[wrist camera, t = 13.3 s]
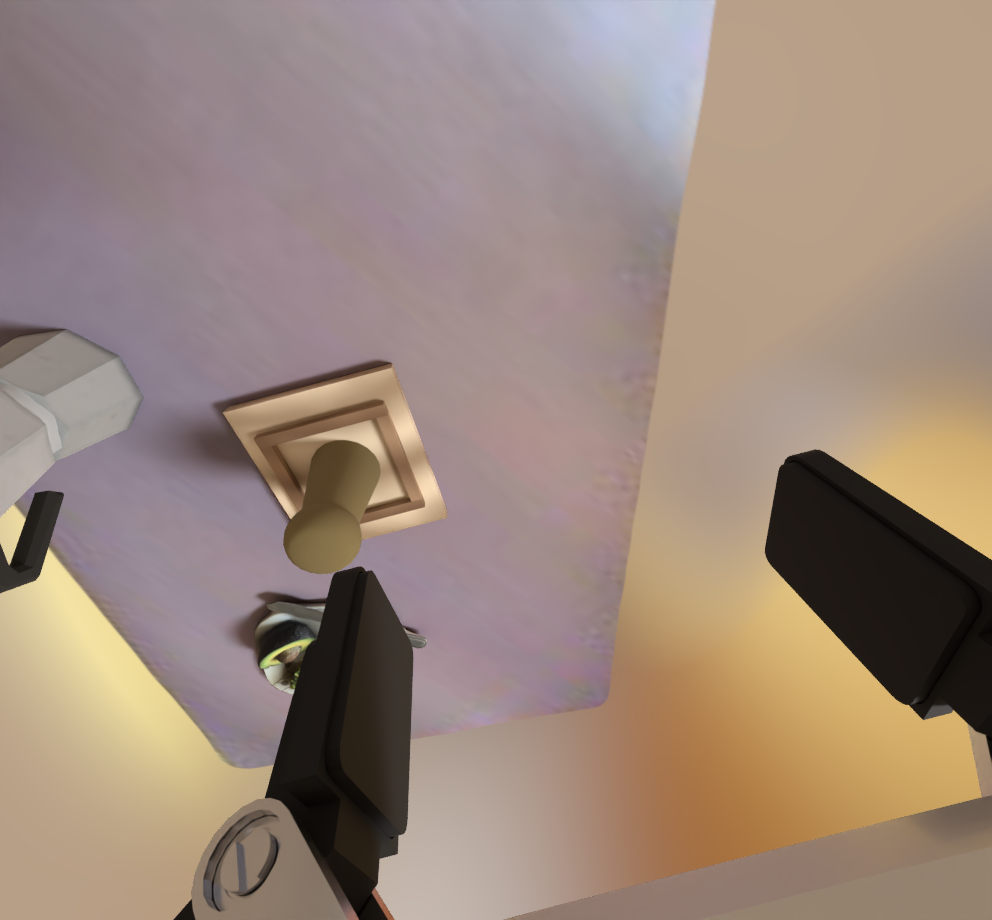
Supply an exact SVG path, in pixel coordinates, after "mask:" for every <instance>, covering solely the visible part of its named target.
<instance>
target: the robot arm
mask: <svg viewBox="0 0 992 920" xmlns="http://www.w3.org/2000/svg"><path fill="white" fill-rule="evenodd" d="M765 554H766V557H767V560H768V562H769V563H770V564H771V565H772V567H773V568H774V569H775V570H776V571H777V572H778V573H779V574H780V576H781V577H782V578H784V580H785V581H786V582H787V583H788V584H789V585H790V586H791V587H792V588H793V589H794V590H795V592H796V593H798V595H799V596H800V597H801V598H802V599H803V600H804V601H805V602H806V604H807V605H809V607H810V608H811V609H812V610H813V611H814V612H815V613H816V614H817V615H818V616H819V618H821V620H822V621H823V622H824V623H825V624H826V625H827V626H828V627H829V628H830V629H831V630H832V632H834V634H835V635H836V636H837V637H838V638H839V639H840V640H841V641H842V642H843V643H844V644H845V646H847V648H848V649H849V650H850V651H851V652H852V653H853V654H854V655H855V656H856V657H857V658H858V660H859V661H860V662H861V663H862V664H863V665H864V666H865V667H866V668H867V669H868V670H869V671H870V672H871V673H872V675H873V676H874V677H875V678H876V679H877V680H878V681H879V682H880V683H881V684H882V685H883V686H884V687H885V689H886V690H887V691H888V692H889V693H890V694H891V695H892V696H893V697H894V698H895V699H896V700H898V701H899V702H901V703H903V704H905V705H909V706H910V707H911V708H912V709H913V710H914V711H915V712H916V713H917V714H918V715H919V716H920V717H921V718H922V719H923V720H925V719H929V718H933V717H936V716H941V715H945V714H949V713H951V712H952V711H953V710H954V711H955V712H956V713H958V714H959V716H960V717H962V718H963V719H964V720H965V721H966V722H967V723H968V728H969V733H970V738H971V743H972V748H973V754H974V759H975V763H976V769H977V774H978V779H979V785H980V789H981V795H982V798H978V799H974V800H970V801H966V802H962V803H958V804H954V805H950V806H946V807H942V808H938V809H934V810H930V811H926V812H922V813H918V814H914V815H910V816H906V817H902V818H898V819H894V820H890V821H886V822H882V823H878V824H874V825H870V826H866V827H862V828H858V829H854V830H850V831H846V832H842V833H838V834H834V835H830V836H826V837H823V838H818V839H815V840H810V841H806V842H802V843H798V844H794V845H791V846H787V847H783V848H779V849H775V850H771V851H767V852H763V853H760V854H755V855H751V856H747V857H744V858H740V859H736V860H732V861H728V862H724V863H720V864H716V865H712V866H708V867H704V868H700V869H696V870H692V871H689V872H685V873H681V874H677V875H673V876H669V877H665V878H661V879H658V880H654V881H650V882H646V883H642V884H638V885H634V886H631V887H627V888H623V889H619V890H615V891H611V892H608V893H604V894H600V895H596V896H592V897H588V898H584V899H580V900H577V901H573V902H569V903H565V904H562V905H558V906H554V907H550V908H546V909H542V910H538V911H534V912H530V913H527V914H523V915H519V916H515V917H512V918H508V919H505V920H992V560H991V559H989V558H988V557H986V556H985V555H983V554H981V553H980V552H978V551H977V550H975V549H974V548H972V547H971V546H969V545H967V544H966V543H964V542H963V541H961V540H960V539H958V538H957V537H955V536H954V535H952V534H950V533H949V532H947V531H946V530H944V529H943V528H941V527H940V526H938V525H936V524H935V523H933V522H932V521H930V520H929V519H927V518H925V517H924V516H923V515H921V514H919V513H918V512H916V511H915V510H913V509H912V508H910V507H909V506H907V505H906V504H904V503H902V502H901V501H899V500H898V499H896V498H895V497H893V496H892V495H890V494H888V493H887V492H885V491H884V490H882V489H881V488H879V487H878V486H876V485H874V484H873V483H871V482H870V481H868V480H867V479H865V478H863V477H862V476H861V475H859V474H857V473H856V472H854V471H853V470H851V469H850V468H848V467H846V466H845V465H843V464H842V463H840V462H839V461H837V460H836V459H834V458H833V457H831V456H829V455H828V454H826V453H825V452H823V451H821V450H812V451H808V452H804V453H800V454H796V455H792V456H789V457H787V459H786V460H785V462H784V465H781V467H780V468H779V471H778V477H777V483H776V489H775V495H774V500H773V506H772V511H771V517H770V523H769V529H768V535H767V540H766V546H765ZM412 677H413V649H412V645H411V642H410V639H409V637H408V636H407V634H406V632H405V630H404V628H403V626H402V624H401V622H400V621H399V619H398V617H397V615H396V613H395V611H394V609H393V608H392V606H391V604H390V602H389V600H388V598H387V596H386V595H385V593H384V591H383V589H382V587H381V585H380V583H379V581H378V580H377V578H376V576H375V574H374V573H373V571H365V569H364V568H363V567H356V568H352V569H348V570H344V571H340V572H336V573H335V574H334V575H333V578H332V581H331V585H330V589H329V593H328V597H327V601H326V604H325V608H324V612H323V616H322V620H321V624H320V628H319V632H318V636H317V640H314V641H312V642H311V643H310V644H309V645H308V646H307V649H306V651H305V654H304V657H303V661H302V665H301V668H300V672H299V675H298V679H297V683H296V686H295V690H294V694H293V697H292V701H291V705H290V708H289V712H288V716H287V719H286V723H285V727H284V730H283V734H282V738H281V741H280V745H279V748H278V752H277V756H276V759H275V763H274V767H273V770H272V774H271V778H270V782H269V785H268V789H267V792H266V796H265V799H259V800H255V801H253V802H252V803H249V804H248V805H245V806H243V807H242V808H241V809H239V810H238V811H237V812H236V813H235V814H233V815H232V816H231V817H230V818H228V820H227V821H226V822H225V823H224V824H223V825H222V827H221V828H220V829H219V830H218V831H217V832H216V833H215V835H214V836H213V838H212V840H211V841H210V843H209V844H208V846H207V848H206V849H205V851H204V853H203V855H202V857H201V860H200V862H199V865H198V867H197V870H196V872H195V876H194V881H193V887H192V893H191V894H192V899H191V900H190V902H189V903H188V904H187V905H186V906H185V907H184V908H183V909H182V911H181V912H180V913H179V914H178V915H177V916H176V918H175V919H174V920H394V918H393V916H392V915H391V913H390V911H389V910H388V908H387V907H386V905H385V903H384V902H383V900H382V899H381V897H380V895H379V894H378V892H377V890H376V889H375V887H376V885H377V883H378V871H379V859H380V858H384V857H388V856H392V855H395V854H398V835H401V834H404V833H405V831H406V827H407V819H408V817H407V816H408V791H409V790H408V789H409V761H410V734H411V706H412Z"/></svg>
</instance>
